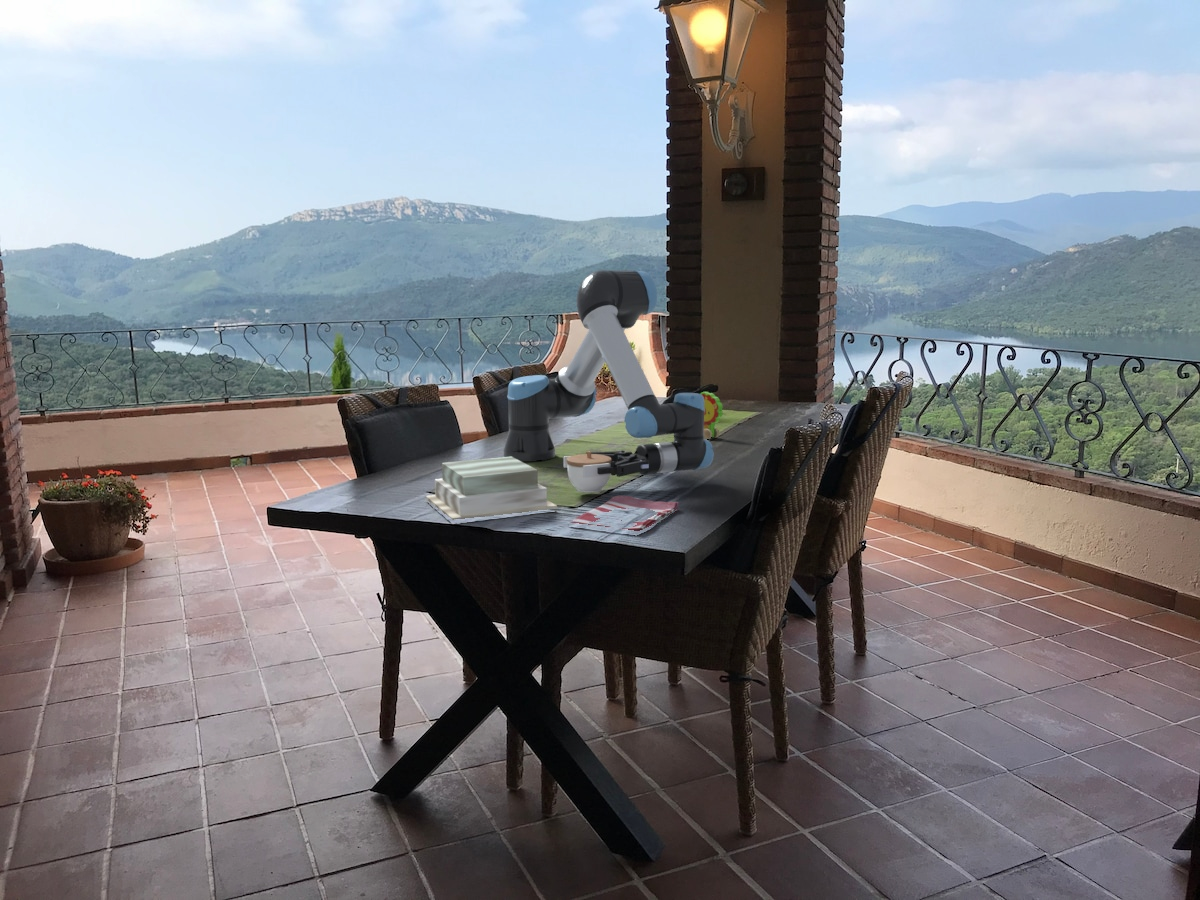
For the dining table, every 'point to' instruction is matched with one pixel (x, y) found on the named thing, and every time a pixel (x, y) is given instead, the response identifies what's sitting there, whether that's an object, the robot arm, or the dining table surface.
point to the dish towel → (628, 502)
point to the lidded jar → (576, 472)
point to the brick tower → (488, 488)
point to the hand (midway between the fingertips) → (573, 466)
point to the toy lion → (711, 414)
